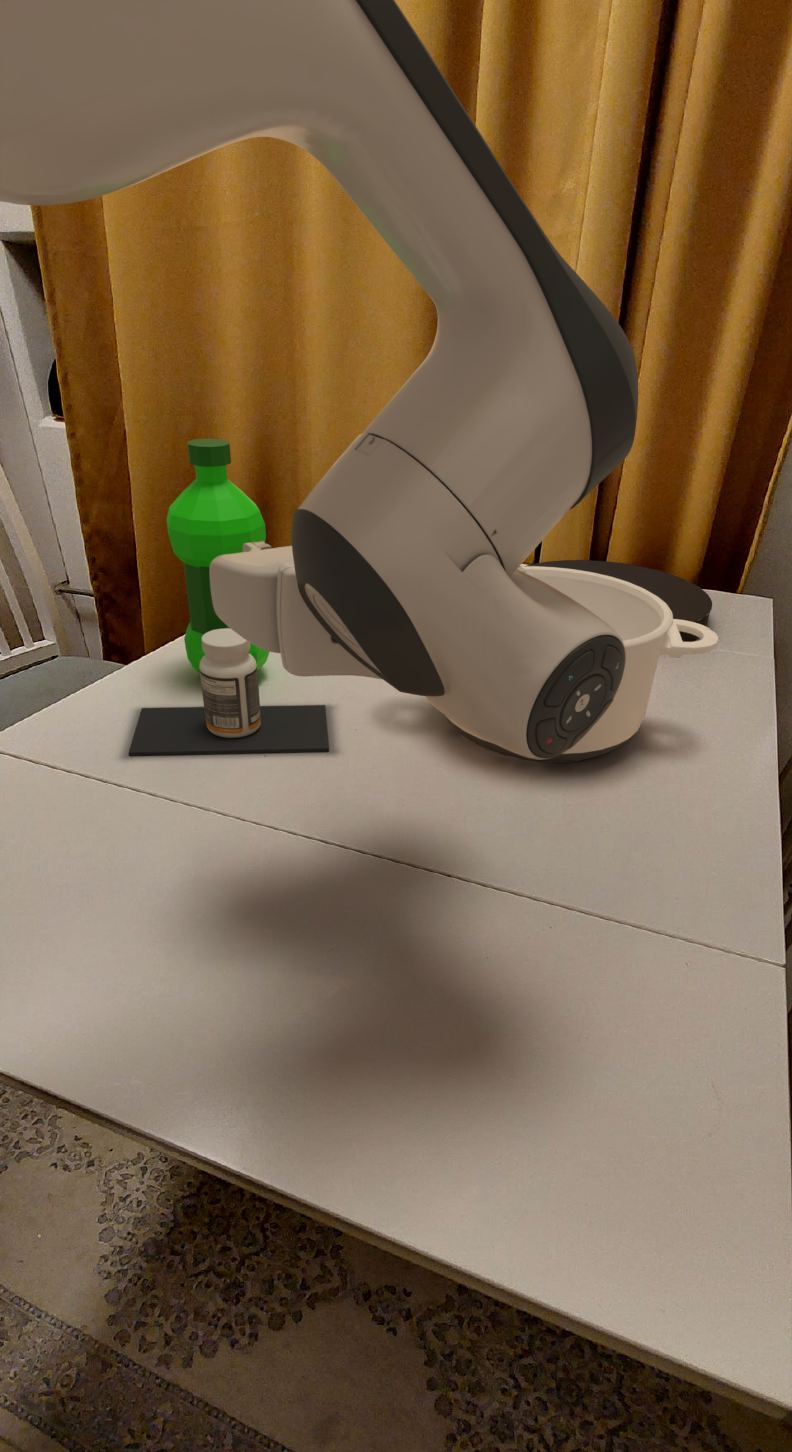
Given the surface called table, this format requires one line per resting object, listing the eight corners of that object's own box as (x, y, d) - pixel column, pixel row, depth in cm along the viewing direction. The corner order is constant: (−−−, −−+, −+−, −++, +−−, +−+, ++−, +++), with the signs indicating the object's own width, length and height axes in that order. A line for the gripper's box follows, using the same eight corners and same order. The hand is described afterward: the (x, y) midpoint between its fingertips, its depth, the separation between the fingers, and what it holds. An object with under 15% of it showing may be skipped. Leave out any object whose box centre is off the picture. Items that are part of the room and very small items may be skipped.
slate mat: (128, 755, 84) (128, 752, 83) (142, 711, 91) (141, 707, 91) (329, 751, 86) (329, 748, 85) (325, 708, 94) (325, 704, 93)
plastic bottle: (169, 685, 97) (135, 446, 82) (215, 653, 105) (192, 429, 90) (246, 701, 94) (226, 457, 79) (287, 666, 102) (276, 439, 87)
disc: (494, 642, 111) (496, 619, 109) (498, 572, 134) (500, 553, 133) (725, 660, 108) (732, 637, 107) (688, 585, 132) (693, 566, 130)
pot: (675, 692, 100) (705, 576, 92) (707, 794, 81) (748, 660, 73) (400, 669, 103) (404, 554, 94) (371, 762, 84) (373, 630, 76)
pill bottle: (240, 710, 92) (232, 621, 85) (272, 728, 88) (266, 637, 82) (195, 726, 88) (184, 634, 82) (227, 746, 85) (218, 652, 79)
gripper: (547, 532, 55) (431, 486, 64) (261, 575, 46) (174, 514, 55) (534, 626, 59) (426, 570, 68) (268, 682, 50) (185, 609, 59)
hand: (311, 545), depth 62 cm, fingers open, 8 cm apart
